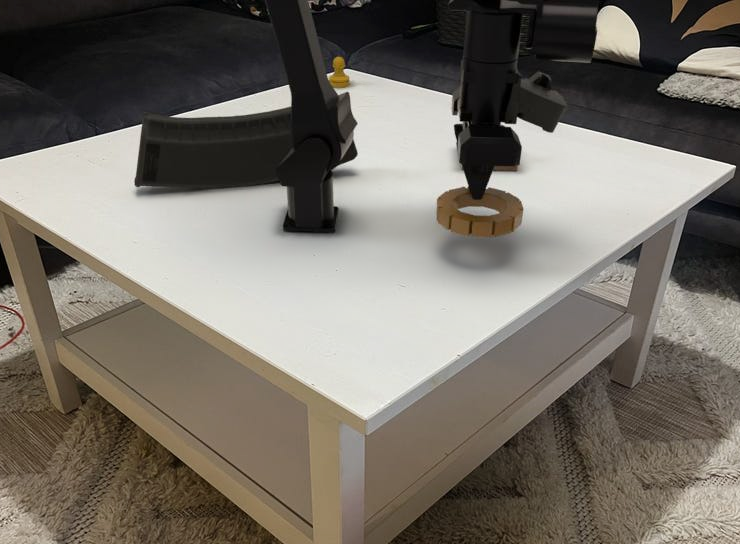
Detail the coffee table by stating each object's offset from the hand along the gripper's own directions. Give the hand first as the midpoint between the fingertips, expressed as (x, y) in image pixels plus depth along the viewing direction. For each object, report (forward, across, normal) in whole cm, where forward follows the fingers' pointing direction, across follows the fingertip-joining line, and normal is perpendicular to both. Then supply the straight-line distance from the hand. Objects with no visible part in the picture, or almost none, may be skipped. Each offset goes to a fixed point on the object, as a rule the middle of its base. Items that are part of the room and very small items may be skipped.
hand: (476, 195), depth 86 cm
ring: (+1, -4, 0) cm, 4 cm away
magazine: (+6, +15, +30) cm, 34 cm away
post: (+5, +25, -4) cm, 26 cm away
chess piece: (+6, +62, +21) cm, 66 cm away
